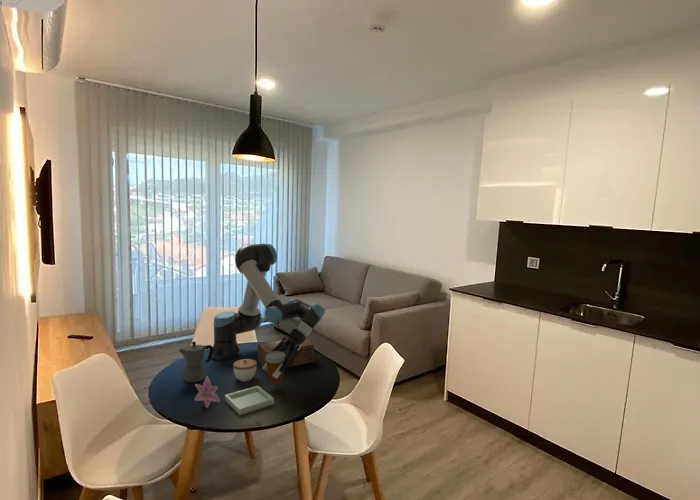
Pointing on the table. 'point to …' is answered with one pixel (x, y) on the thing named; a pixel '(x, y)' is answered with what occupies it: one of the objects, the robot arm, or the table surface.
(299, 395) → the table surface
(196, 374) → the coffeepot
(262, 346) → the tissue box cover
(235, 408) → the tray
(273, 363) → the disposable coffee cup
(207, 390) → the lily
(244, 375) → the lidded jar
